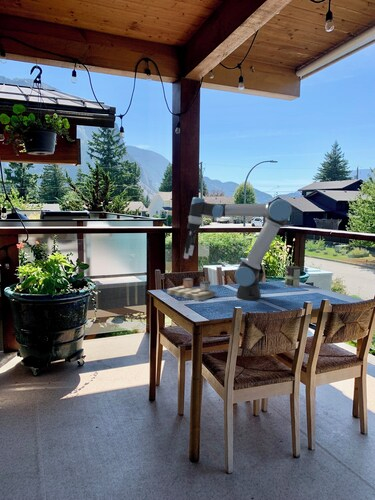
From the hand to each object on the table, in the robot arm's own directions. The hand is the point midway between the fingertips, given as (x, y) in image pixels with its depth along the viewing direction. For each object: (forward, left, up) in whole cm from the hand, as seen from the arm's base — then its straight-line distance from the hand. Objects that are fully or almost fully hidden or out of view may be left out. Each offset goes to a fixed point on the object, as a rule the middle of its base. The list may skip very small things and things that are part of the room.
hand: (187, 256), depth 225 cm
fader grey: (-6, -10, -22) cm, 25 cm away
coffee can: (-34, -79, -25) cm, 90 cm away
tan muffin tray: (+1, -5, -25) cm, 25 cm away
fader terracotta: (+8, -10, -22) cm, 25 cm away
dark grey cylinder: (-11, -57, -25) cm, 64 cm away
